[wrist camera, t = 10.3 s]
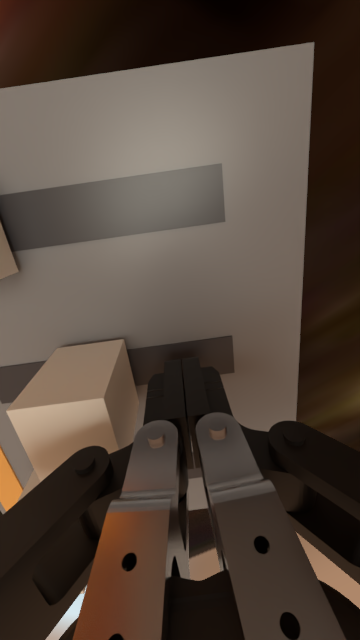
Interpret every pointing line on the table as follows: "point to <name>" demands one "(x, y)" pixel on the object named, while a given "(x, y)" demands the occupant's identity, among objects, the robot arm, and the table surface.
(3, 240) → the handle
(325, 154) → the table surface
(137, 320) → the slider control panel
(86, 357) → the handle
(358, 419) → the table surface
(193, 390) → the robot arm
